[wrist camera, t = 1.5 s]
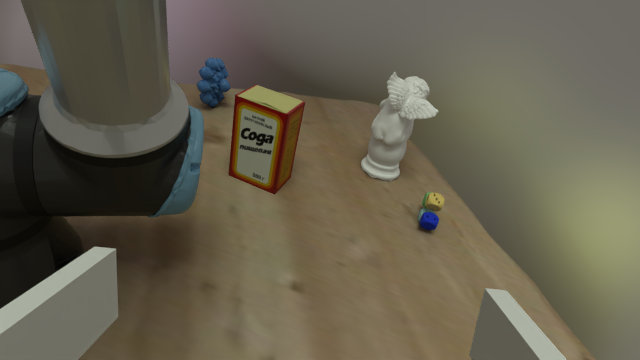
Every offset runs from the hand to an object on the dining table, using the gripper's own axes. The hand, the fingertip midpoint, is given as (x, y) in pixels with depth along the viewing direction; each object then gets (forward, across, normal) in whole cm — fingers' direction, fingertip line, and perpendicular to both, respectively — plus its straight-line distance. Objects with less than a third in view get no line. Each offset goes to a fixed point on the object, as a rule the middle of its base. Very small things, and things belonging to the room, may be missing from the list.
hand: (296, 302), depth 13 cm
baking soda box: (+55, -11, -10) cm, 57 cm away
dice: (+53, +20, -15) cm, 59 cm away
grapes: (+78, -27, 0) cm, 82 cm away
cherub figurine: (+66, +14, -9) cm, 68 cm away
